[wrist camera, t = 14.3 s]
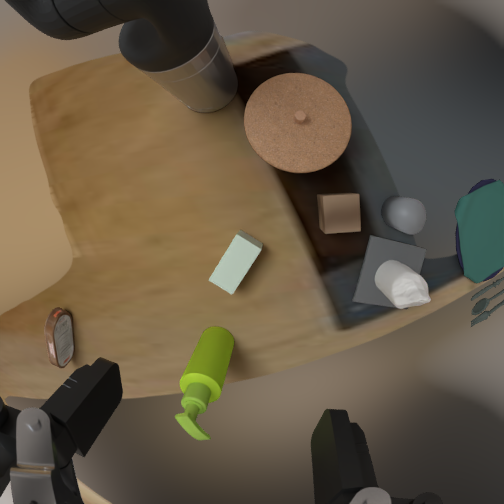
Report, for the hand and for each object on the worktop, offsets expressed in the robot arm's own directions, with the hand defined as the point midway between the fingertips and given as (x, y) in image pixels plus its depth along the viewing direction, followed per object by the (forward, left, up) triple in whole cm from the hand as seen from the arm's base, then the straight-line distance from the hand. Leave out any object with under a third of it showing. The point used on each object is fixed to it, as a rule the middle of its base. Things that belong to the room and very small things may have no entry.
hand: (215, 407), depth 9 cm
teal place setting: (-6, +45, -34) cm, 57 cm away
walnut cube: (-6, +10, -33) cm, 35 cm away
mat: (+2, +22, -33) cm, 40 cm away
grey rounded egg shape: (-8, +20, -33) cm, 40 cm away
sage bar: (+4, -3, -33) cm, 34 cm away
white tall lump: (+2, +22, -33) cm, 39 cm away
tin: (+29, -39, -33) cm, 59 cm away
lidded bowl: (-16, +2, -33) cm, 37 cm away
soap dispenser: (+20, -4, -33) cm, 39 cm away
